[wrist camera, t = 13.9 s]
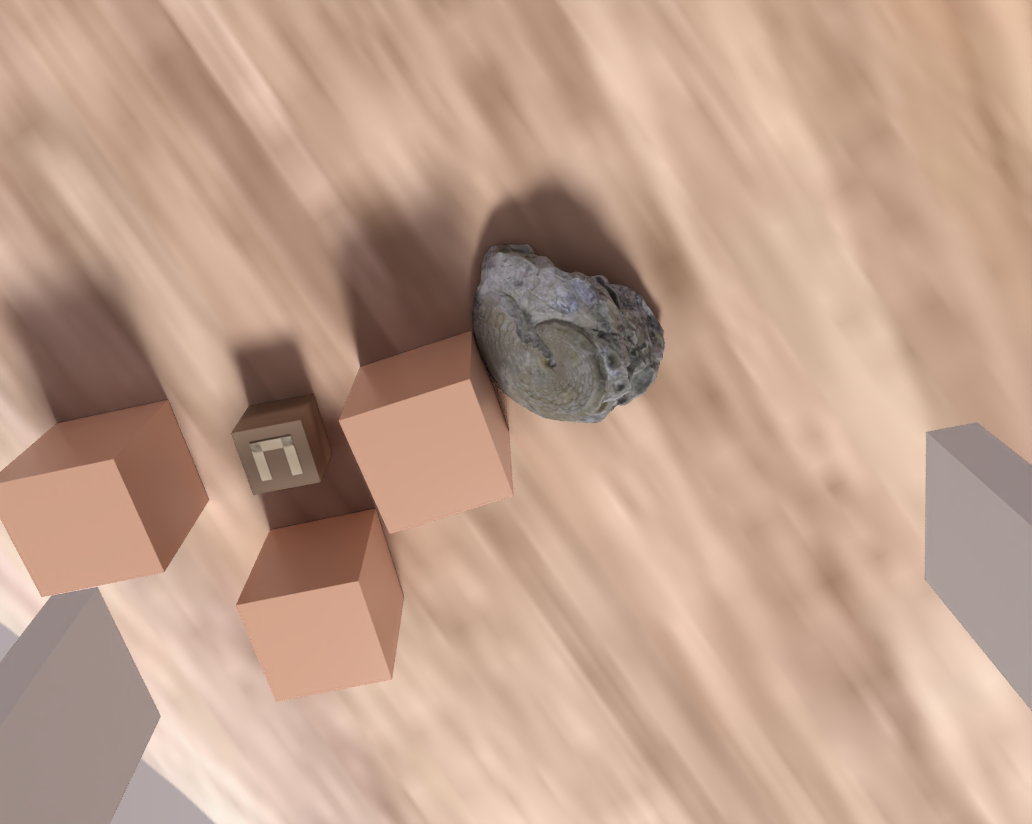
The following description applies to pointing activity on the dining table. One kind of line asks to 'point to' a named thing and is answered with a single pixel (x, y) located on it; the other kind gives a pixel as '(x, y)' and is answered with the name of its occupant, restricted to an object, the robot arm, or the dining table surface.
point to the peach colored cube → (429, 433)
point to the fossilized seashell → (563, 336)
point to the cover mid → (324, 606)
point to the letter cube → (282, 444)
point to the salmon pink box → (102, 499)
